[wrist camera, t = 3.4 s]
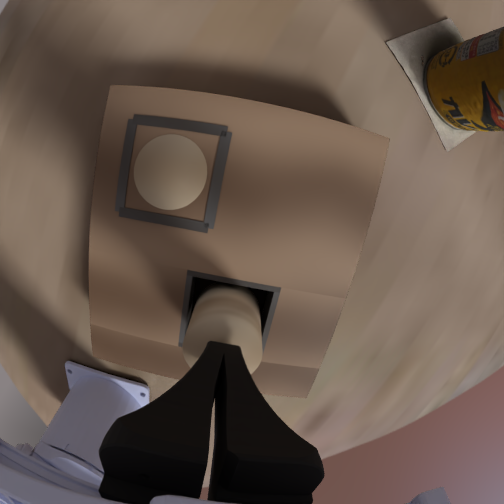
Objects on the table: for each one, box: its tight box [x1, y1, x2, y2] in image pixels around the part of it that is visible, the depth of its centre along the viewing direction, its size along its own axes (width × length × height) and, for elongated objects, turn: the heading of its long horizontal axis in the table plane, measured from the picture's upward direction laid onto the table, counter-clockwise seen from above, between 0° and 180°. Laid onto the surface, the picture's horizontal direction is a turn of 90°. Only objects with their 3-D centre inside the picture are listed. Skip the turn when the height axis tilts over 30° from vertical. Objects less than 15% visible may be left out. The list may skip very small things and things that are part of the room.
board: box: [89, 85, 390, 398], centre depth 17 cm, size 16×14×4 cm
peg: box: [182, 282, 263, 374], centre depth 15 cm, size 4×4×4 cm
